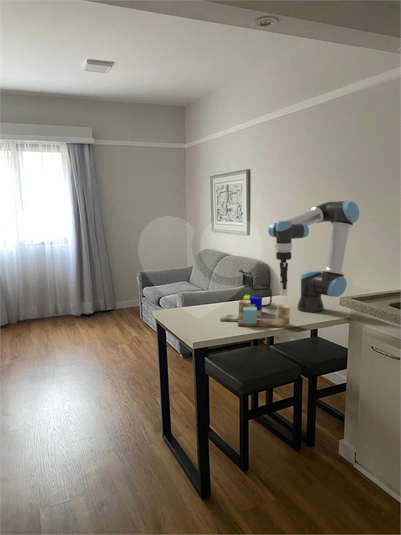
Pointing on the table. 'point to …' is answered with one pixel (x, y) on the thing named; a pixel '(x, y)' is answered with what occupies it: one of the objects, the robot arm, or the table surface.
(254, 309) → the cube
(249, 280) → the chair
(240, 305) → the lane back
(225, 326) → the table surface
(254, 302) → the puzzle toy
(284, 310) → the lane front
